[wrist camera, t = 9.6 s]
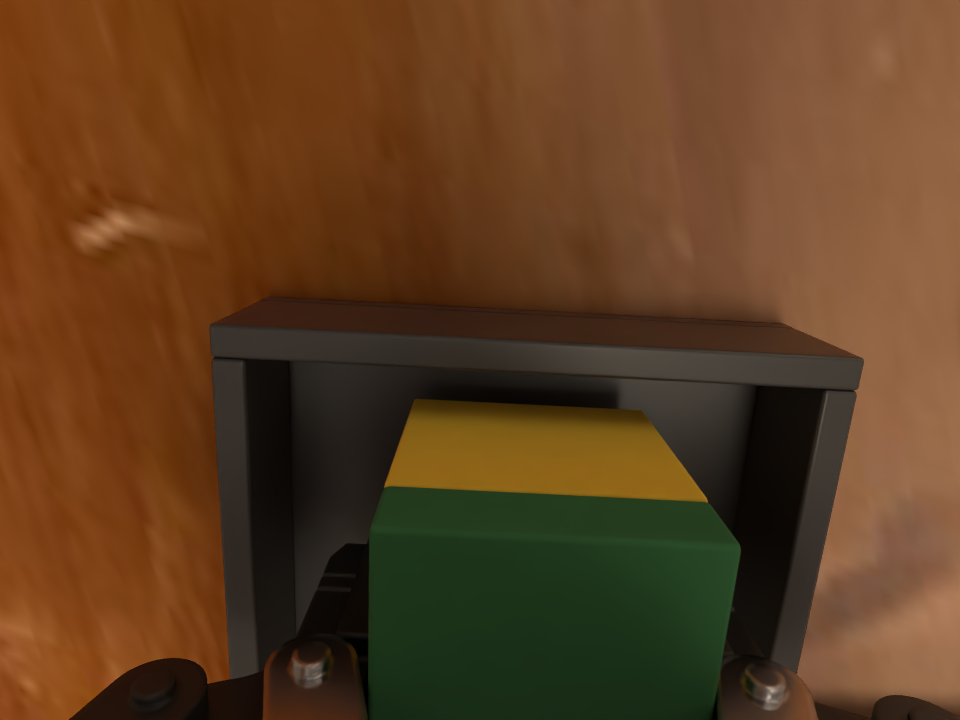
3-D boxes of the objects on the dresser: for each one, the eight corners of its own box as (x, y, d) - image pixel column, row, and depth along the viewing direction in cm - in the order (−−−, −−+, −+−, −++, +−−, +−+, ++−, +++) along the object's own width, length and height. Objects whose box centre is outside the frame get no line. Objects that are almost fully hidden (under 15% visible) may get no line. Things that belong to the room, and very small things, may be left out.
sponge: (414, 397, 12) (368, 527, 7) (642, 409, 12) (745, 546, 7) (406, 694, 14) (364, 955, 9) (607, 705, 14) (670, 970, 9)
